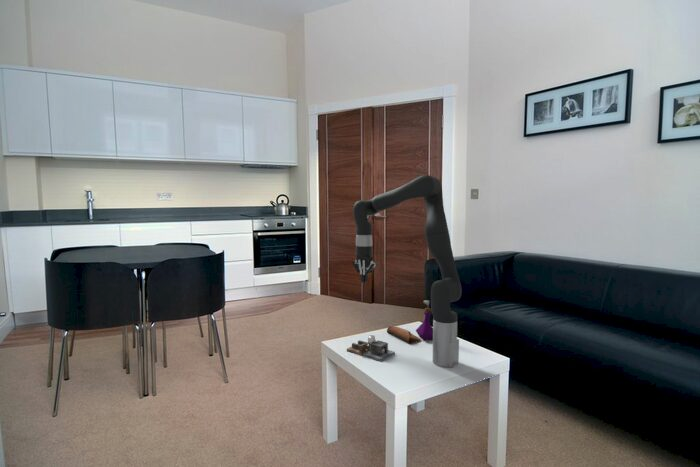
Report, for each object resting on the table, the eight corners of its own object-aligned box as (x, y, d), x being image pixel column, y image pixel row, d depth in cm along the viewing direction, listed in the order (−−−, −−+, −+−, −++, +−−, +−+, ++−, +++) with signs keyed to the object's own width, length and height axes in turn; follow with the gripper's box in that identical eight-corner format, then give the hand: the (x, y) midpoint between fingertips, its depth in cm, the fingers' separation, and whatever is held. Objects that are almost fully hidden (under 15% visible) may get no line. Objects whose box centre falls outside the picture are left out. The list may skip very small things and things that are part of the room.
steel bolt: (385, 352, 163) (385, 338, 163) (381, 354, 161) (381, 340, 160) (369, 347, 168) (369, 334, 168) (365, 349, 166) (365, 336, 165)
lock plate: (394, 354, 164) (395, 342, 164) (381, 361, 157) (381, 349, 156) (360, 344, 176) (360, 333, 175) (346, 351, 168) (346, 339, 168)
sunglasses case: (423, 340, 180) (418, 329, 178) (413, 351, 177) (407, 340, 175) (400, 329, 195) (394, 319, 193) (390, 339, 193) (384, 328, 191)
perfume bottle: (437, 340, 180) (437, 302, 179) (422, 342, 178) (422, 303, 177) (429, 335, 188) (430, 298, 186) (415, 336, 186) (415, 299, 184)
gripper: (380, 245, 176) (380, 283, 177) (357, 243, 185) (357, 279, 186) (370, 246, 170) (370, 285, 172) (347, 244, 179) (347, 282, 180)
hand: (364, 282), depth 179 cm, fingers closed
